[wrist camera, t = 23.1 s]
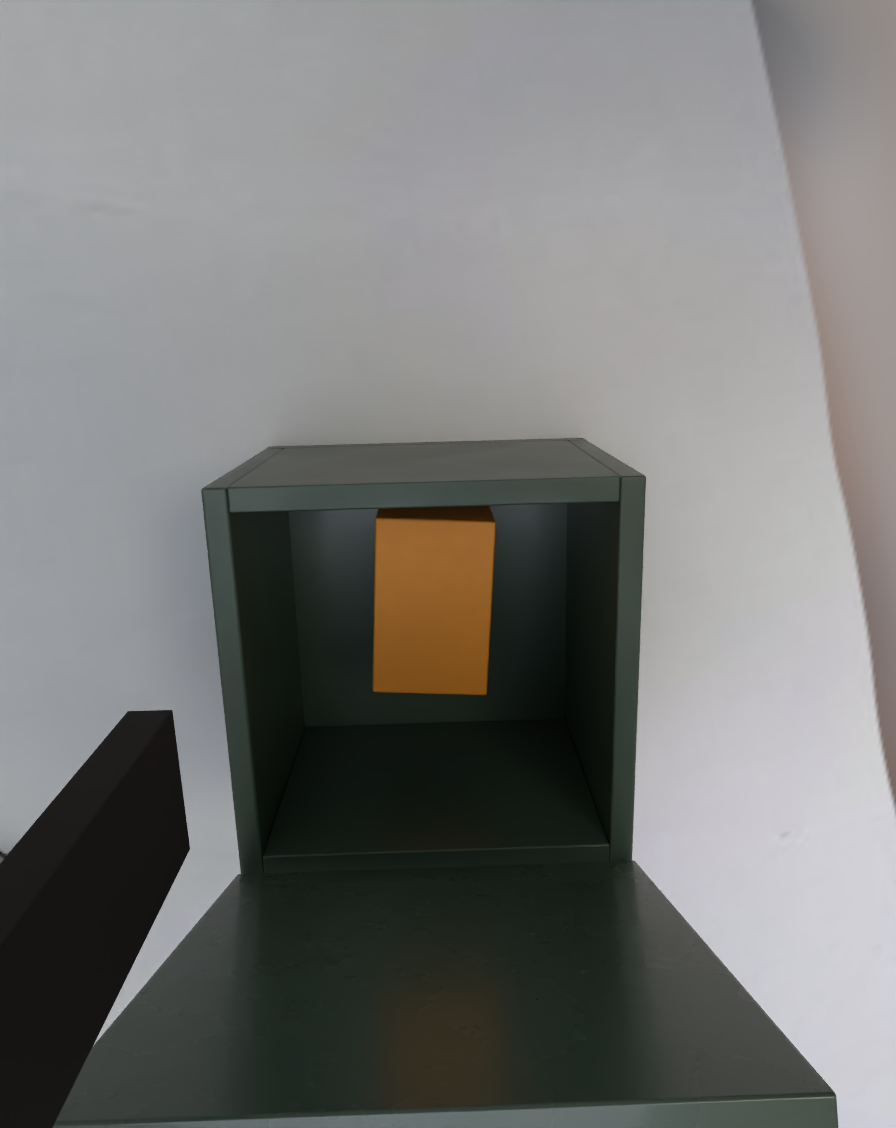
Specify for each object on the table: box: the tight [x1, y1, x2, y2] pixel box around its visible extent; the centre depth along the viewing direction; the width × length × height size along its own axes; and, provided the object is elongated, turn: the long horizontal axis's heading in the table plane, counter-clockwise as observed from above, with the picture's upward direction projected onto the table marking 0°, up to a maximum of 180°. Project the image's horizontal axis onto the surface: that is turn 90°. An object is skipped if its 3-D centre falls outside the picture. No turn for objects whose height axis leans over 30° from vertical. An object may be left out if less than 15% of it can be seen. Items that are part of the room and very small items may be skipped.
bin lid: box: [53, 861, 838, 1128], centre depth 21 cm, size 14×14×8 cm
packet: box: [372, 506, 496, 695], centre depth 34 cm, size 7×4×5 cm, turn 178°
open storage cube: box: [201, 438, 646, 874], centre depth 32 cm, size 14×14×11 cm
